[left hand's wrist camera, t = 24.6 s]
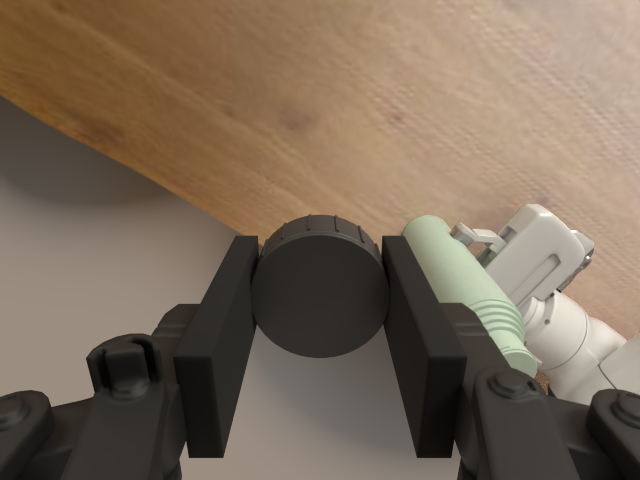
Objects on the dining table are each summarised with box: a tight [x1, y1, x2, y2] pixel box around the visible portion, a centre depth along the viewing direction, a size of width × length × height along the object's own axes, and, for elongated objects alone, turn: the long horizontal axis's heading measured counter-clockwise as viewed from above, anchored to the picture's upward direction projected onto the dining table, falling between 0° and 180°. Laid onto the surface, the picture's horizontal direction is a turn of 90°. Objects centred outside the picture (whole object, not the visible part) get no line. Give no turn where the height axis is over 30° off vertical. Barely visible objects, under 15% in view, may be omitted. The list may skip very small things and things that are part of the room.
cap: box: [250, 214, 390, 358], centre depth 14 cm, size 4×4×2 cm
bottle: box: [403, 215, 537, 379], centre depth 37 cm, size 6×6×23 cm
